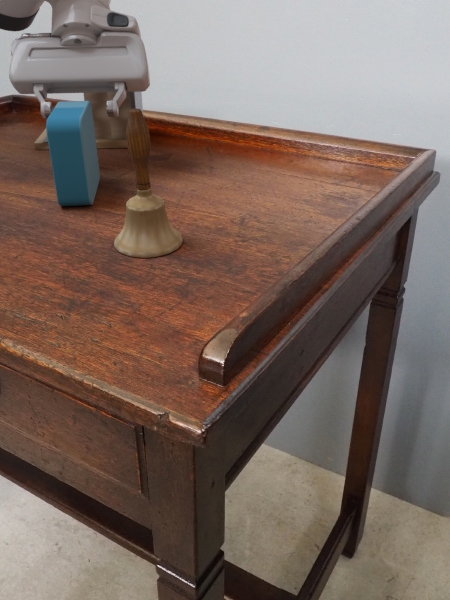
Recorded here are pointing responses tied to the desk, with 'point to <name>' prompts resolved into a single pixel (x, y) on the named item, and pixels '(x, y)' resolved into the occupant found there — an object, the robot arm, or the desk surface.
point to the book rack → (105, 120)
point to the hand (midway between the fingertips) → (79, 115)
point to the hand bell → (144, 203)
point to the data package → (73, 152)
